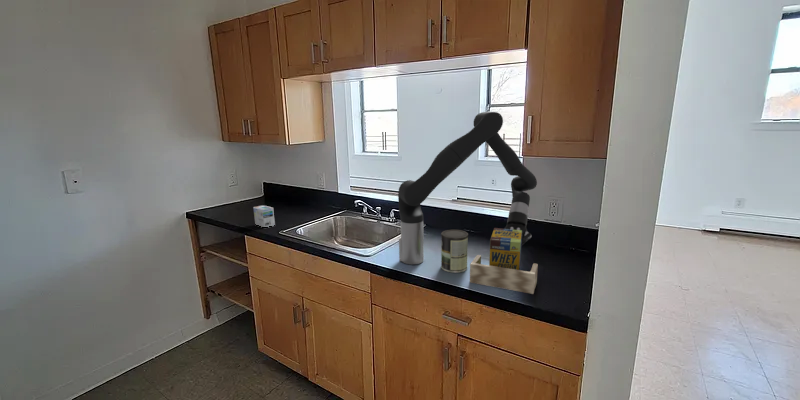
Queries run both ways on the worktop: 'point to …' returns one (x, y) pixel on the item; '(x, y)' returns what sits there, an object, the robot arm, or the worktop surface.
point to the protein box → (505, 248)
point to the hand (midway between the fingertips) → (511, 253)
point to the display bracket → (503, 276)
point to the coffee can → (454, 250)
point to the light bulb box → (264, 216)
